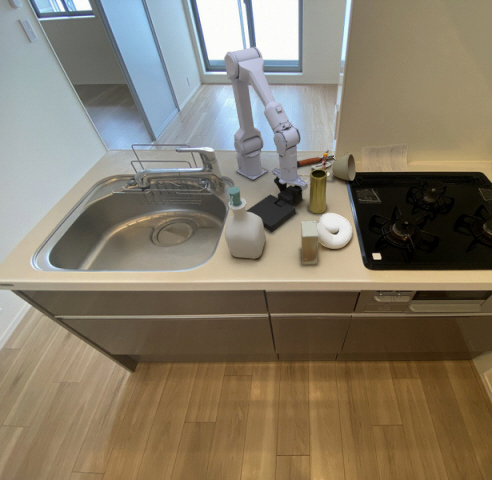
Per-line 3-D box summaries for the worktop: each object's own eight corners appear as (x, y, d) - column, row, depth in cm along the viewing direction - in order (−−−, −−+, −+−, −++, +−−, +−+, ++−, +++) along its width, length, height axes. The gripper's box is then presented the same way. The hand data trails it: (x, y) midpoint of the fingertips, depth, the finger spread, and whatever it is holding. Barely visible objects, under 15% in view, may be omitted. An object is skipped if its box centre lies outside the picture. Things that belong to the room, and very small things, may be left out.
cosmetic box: (301, 249, 86) (300, 219, 77) (315, 248, 86) (316, 219, 77) (302, 265, 81) (301, 236, 73) (317, 265, 82) (318, 235, 73)
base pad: (246, 216, 96) (245, 211, 94) (271, 199, 103) (270, 194, 101) (271, 232, 91) (270, 226, 89) (295, 213, 97) (295, 207, 95)
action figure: (323, 164, 118) (323, 143, 111) (329, 164, 118) (330, 144, 111) (318, 181, 110) (318, 160, 103) (325, 181, 110) (326, 161, 103)
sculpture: (354, 221, 94) (357, 203, 88) (348, 255, 84) (351, 236, 78) (319, 216, 96) (320, 197, 90) (309, 247, 86) (309, 229, 80)
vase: (328, 204, 100) (330, 170, 90) (323, 215, 96) (325, 180, 86) (311, 201, 102) (312, 166, 91) (306, 211, 98) (306, 176, 88)
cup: (334, 150, 110) (352, 148, 107) (340, 171, 117) (357, 170, 114) (327, 165, 105) (346, 163, 101) (334, 186, 111) (351, 185, 108)
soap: (326, 161, 121) (326, 159, 120) (333, 165, 118) (333, 163, 117) (309, 167, 116) (309, 165, 115) (316, 170, 113) (316, 168, 112)
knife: (353, 156, 122) (347, 154, 126) (352, 150, 121) (347, 148, 125) (298, 168, 115) (294, 166, 119) (297, 161, 114) (293, 159, 118)
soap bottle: (229, 259, 84) (208, 201, 66) (238, 235, 90) (220, 176, 72) (261, 261, 83) (247, 204, 65) (267, 237, 89) (257, 178, 71)
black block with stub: (273, 206, 100) (272, 197, 97) (291, 193, 105) (290, 184, 102) (284, 212, 97) (284, 203, 95) (302, 199, 102) (302, 190, 100)
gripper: (263, 162, 92) (268, 195, 102) (297, 178, 86) (298, 212, 96) (278, 153, 96) (281, 186, 106) (311, 168, 89) (311, 202, 99)
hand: (290, 198), depth 101 cm, fingers closed on black block with stub, 5 cm apart
